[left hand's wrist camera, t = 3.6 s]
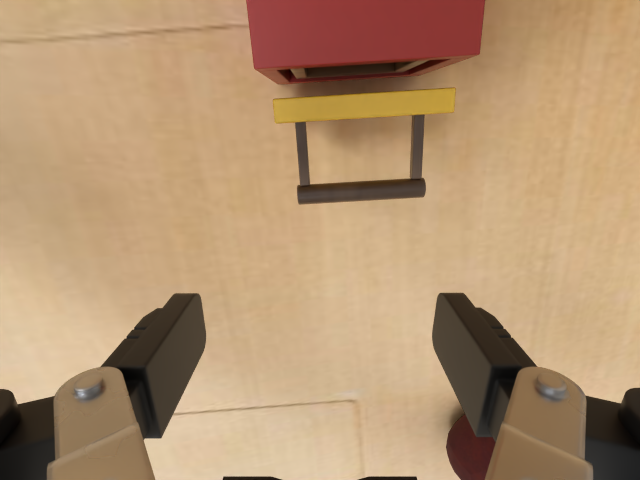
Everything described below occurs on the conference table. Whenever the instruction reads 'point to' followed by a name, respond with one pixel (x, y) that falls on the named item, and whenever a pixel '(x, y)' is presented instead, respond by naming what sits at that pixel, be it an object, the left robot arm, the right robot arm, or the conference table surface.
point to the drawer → (362, 107)
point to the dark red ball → (468, 451)
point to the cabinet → (361, 35)
